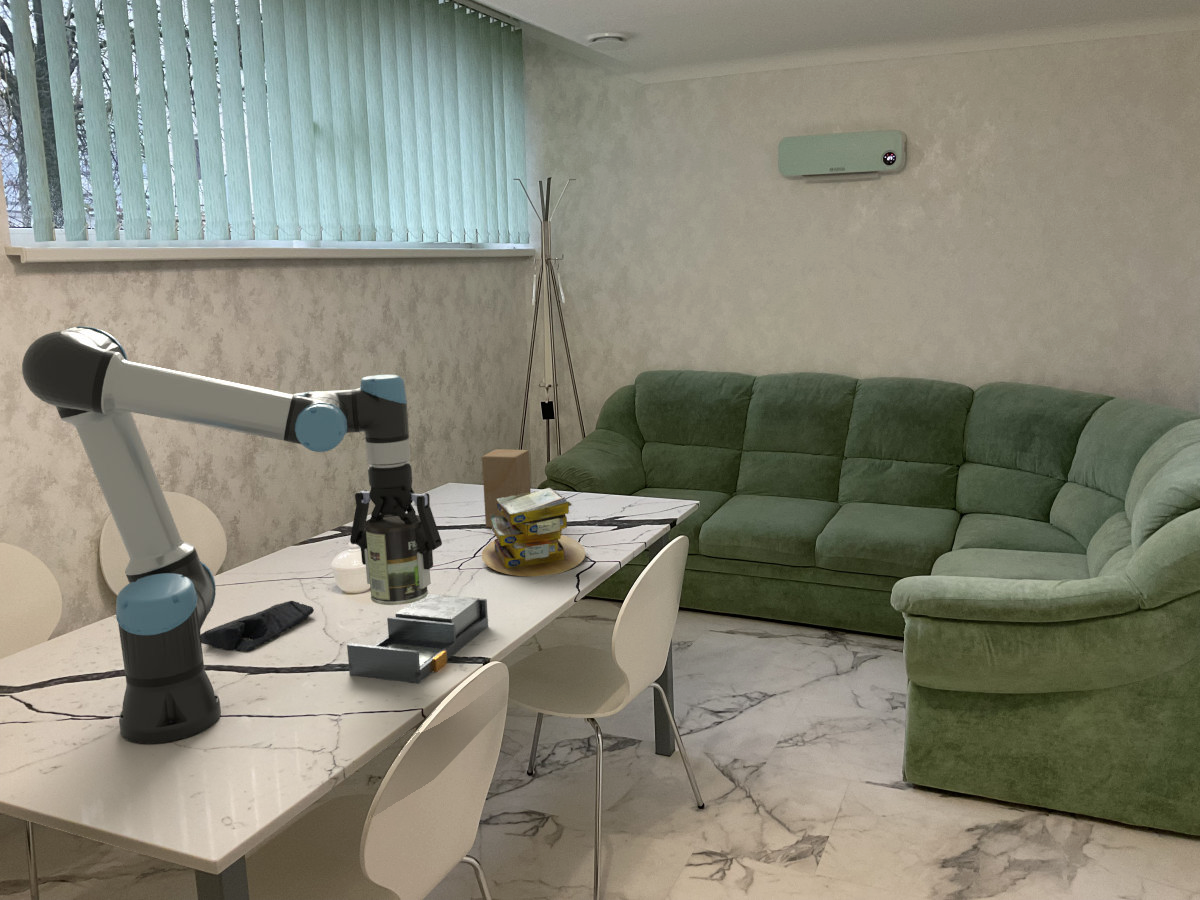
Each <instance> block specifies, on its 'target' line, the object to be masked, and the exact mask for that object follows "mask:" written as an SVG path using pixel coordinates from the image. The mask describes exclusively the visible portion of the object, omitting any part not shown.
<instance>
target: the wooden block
mask: <svg viewBox="0 0 1200 900" xmlns="http://www.w3.org/2000/svg"><path fill="white" fill-rule="evenodd" d="M529 453H530V452H529V450H528V449H508V448H507V449H503V448H502V449H501V448H498V449H497V448H496V449H493V450H492V451H490V452H488V453H485V455H484V454H483V455H482V456H481V462H482V463H481V465H482V481H483V482H482V483H483V496H484V497H483V498H484V500H483V501H484V502H483V503H484V516H485V517H484V520H485V527H486V528H491V529H492V521H491V517H492V516H491V515H495V516H500V517H501V516H504V515H503V514H501V513H500V512H499V511H498V510H497V504H496V500H497V499H498V498H502V497H503V498H506V497H509V496H515V495H516V496H517V495H521V494H522V495H523V494H525V493H527V494H525V495H529V494H528V493H530V494H532V493H531V492H532V491H531V475H530V474H531V471H530V454H529ZM490 514H491V515H490Z"/></svg>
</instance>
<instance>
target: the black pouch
mask: <svg viewBox="0 0 1200 900" xmlns="http://www.w3.org/2000/svg"><path fill="white" fill-rule="evenodd" d="M314 610H315V609H314V608H313V606H311V605H307V604H304V603H301V602H298V601H295V600H289V601H284V602H283V603H282V602H281V603H277V604H274V605H272V606H270V607H269V608H268V607H267V608H266V609H264V610H261V611H258V612H256V613H253V614H250V615H246V616H242V617H240V618H237V619H234V620H231V621H229V622H226V623H223V624H220V625H218V626H215V627H213V628H211V629H207V630H205V631H204V632H203V633H200V636H201V644H204V645H208V646H211V647H212V648H214V649H219V650H223V651H237V652H241V651H245V652H251V651H253V650H255V649H256V648H257V647H259V646H261V645H264V644H266V643H268V642H270V641H271V640H274V639H276V638H277V637H279V636H280V635H281V634H282V633H285V632H287V631H288V630H291V629H293V627H295V626H297V625H299V624H301V623H302V622H303V621H304V620H306V619H307V618H308V617H309V616H310V615H311V616H312V614H313V613H314Z"/></svg>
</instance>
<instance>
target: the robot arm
mask: <svg viewBox="0 0 1200 900" xmlns="http://www.w3.org/2000/svg"><path fill="white" fill-rule="evenodd" d="M21 374H22V377H23V379H24V383H25V385H26V387H27V388H28V389H29V391H30V392H31V393H32V394H33V395H34V396H35V397H36V398H38V399H39V400H40V401H42V402H44V403H46V404H49V405H51V406H54V407H56V410H57V412H58V415H59V418H60V419H61V421H62V422H65V423H67V424H71V425H72V426H73V427H74V428H75V430H76V432H77V434H78V436H79V438H80V441H81V443H82V446H83V448H84V451H85V453H86V455H87V458H88V460H89V462H90V465H91V468H92V470H93V473H94V475H95V478H96V479H97V483H98V485H99V487H100V490H101V491H102V494H103V497H104V498H105V502H106V504H107V507H108V509H109V512H110V513H111V516H112V519H113V521H114V524H115V526H116V528H117V531H118V533H119V536H120V537H121V540H122V543H123V545H124V547H125V550H126V552H127V555H128V557H129V562H128V563H127V566H126V567H125V569H124V574H125V575H126V578H127V580H128V582H129V583H128V584H126V585H125V586H124V587H123V588H122V589H121V590H119V593H118V594H117V597H116V599H115V600H116V608H115V618H116V621H117V623H118V625H117V626H118V631H119V638H120V639H119V641H120V645H121V653H122V661H123V667H124V668H123V669H124V674H125V676H124V677H125V682H126V687H125V691H124V696H123V701H122V706H121V707H122V710H121V711H120V714H119V717H118V719H119V721H118V723H119V730H120V731H119V732H120V735H121V737H122V738H124V739H125V740H126V741H128V742H131V743H136V744H162V743H168V742H173V741H174V742H175V741H177V740H182V739H185V738H189V737H191V736H194V735H196V734H199V733H201V732H203V731H206V730H207V729H208V728H210V727H211V726H213V725H214V724H215V723H216V722H217V721H218V720H219V719H220V717H221V715H222V710H221V701H220V698H219V696H218V694H217V693H216V692H215V690H214V688H213V685H212V683H211V681H210V677H208V674H207V673H206V669H205V664H204V655H203V654H204V653H203V646H202V644H203V643H201V636H200V635H201V629H202V626H203V625H204V622H205V621H206V619H207V616H208V615H209V614H210V612H211V609H212V608H213V606H214V603H215V598H216V593H217V592H216V590H217V589H216V588H217V587H216V582H215V581H216V580H215V577H214V575H213V573H212V571H211V569H210V568H209V567H208V566H207V565H206V564H205V563H204V562H203V561H201V559H200V557H199V554H198V552H197V549H196V548H195V545H194V544H192V543H189V542H187V541H185V540H183V539H182V538H181V535H180V532H179V529H178V527H177V525H176V522H175V520H174V518H173V514H172V513H171V512H172V511H171V510H170V507H169V504H168V502H167V500H166V497H165V494H164V492H163V490H162V487H161V484H160V482H159V480H158V476H157V475H156V472H155V470H154V466H153V464H152V462H151V460H150V457H149V455H148V452H147V449H146V447H145V445H144V442H143V440H142V437H141V434H140V431H139V429H138V427H137V424H136V421H135V419H134V417H133V415H132V413H133V414H134V413H135V414H141V415H146V416H150V417H156V418H161V419H167V420H171V421H178V422H182V423H183V422H184V423H187V424H193V425H198V426H203V427H209V428H214V429H219V430H220V429H221V430H226V431H229V432H230V431H232V432H234V433H235V432H236V433H242V434H247V435H252V436H259V437H263V438H268V439H274V440H279V441H283V442H288V443H293V444H297V445H302V446H303V447H304V448H306V449H308V450H309V451H312V452H315V453H325V452H328V451H329V452H330V451H331V450H333V449H335V448H336V447H337V446H338V445H339V444H340V443H341V442H342V441H343V440H344V438H345V436H346V435H347V434H350V433H362V432H364V435H365V436H364V438H365V451H366V462H367V463H368V464H369V465H368V467H367V474H368V484H369V486H370V490H369V491H368V490H366V489H363V490H361V491H358V492H356V493H355V494H354V499H355V500H354V501H355V510H354V516H353V522H352V528H351V534H350V539H349V540H350V544H351V545H356V546H358V547H359V548H360V553H361V555H360V556H361V562H362V565H365V570H366V571H365V573H366V584H367V585H370V576H369V565H368V553H367V541H366V529H365V527H364V523H365V522H366V521H367V520H368V513H369V507H370V502H372V503H373V504H374V506H373V510H372V512H371V513H370V522H377V521H379V520H381V519H383V517H384V516H385V515H393V516H399V517H400V519H401V520H402V521H404V523H405V524H413V523H415V522H417V521H418V518H417V516H416V515H419V517H420V520H421V523H422V526H423V527H422V526H421V527H420V528H419V529H415V537H416V543H417V545H418V547H419V548H420V550H421V551H420V552H418V553H417V560H418V574H419V587H420V588H422V589H423V588H425V587H427V588H428V586H430V585H431V584H432V582H431V569H432V568H433V566H434V557H433V555H434V553H433V551H435V550H436V549H438V548H440V547H442V545H443V541H442V539H441V535H440V532H439V530H438V527H437V523H436V520H435V518H434V515H433V510H432V508H431V505H430V504H431V503H430V500H431V499H430V494H429V493H428V492H424V493H422V494H421V493H415V491H414V490H413V472H412V471H413V470H412V464H411V463H410V460H411V458H412V457H411V449H410V447H411V446H410V444H411V443H410V434H409V432H410V431H409V419H408V418H409V417H408V401H407V394H406V386H405V381H404V379H403V378H402V377H401V376H400V375H397V374H376V375H367V376H365V377H364V376H363V377H362V378H361V380H360V385H359V388H355V389H354V388H353V389H343V390H342V389H340V390H323V391H322V390H321V391H313V390H311V391H310V390H309V391H306V392H299V393H298V392H297V393H294V394H293V393H292V394H291V393H286V392H283V391H282V392H281V391H276V390H271V389H266V388H262V387H257V386H252V385H247V384H241V383H238V382H231V381H227V380H223V379H219V378H218V379H216V378H212V377H208V376H207V377H206V376H204V375H203V376H202V375H198V374H193V373H188V372H182V371H179V370H172V369H169V368H162V367H157V366H154V365H148V364H143V363H139V362H134V361H129V360H128V356H127V354H126V351H125V349H124V347H123V345H122V344H121V343H120V342H119V340H118V339H117V338H116V337H114V336H113V335H112V334H110V333H109V332H107V331H105V330H103V329H101V328H100V329H99V328H95V327H91V326H80V325H77V326H73V327H68V328H66V329H62V330H59V331H53V332H51V333H47V334H44V335H42V336H40V337H39V338H36V340H34V341H33V343H31V344H30V345H29V346H28V348H27V349H26V351H25V353H24V355H23V358H22V363H21ZM413 502H414V506H415V507H416V509H417V510H415V508H414V507H413V505H412V503H413ZM416 511H417V513H416Z"/></svg>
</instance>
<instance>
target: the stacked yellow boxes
mask: <svg viewBox="0 0 1200 900" xmlns="http://www.w3.org/2000/svg"><path fill="white" fill-rule="evenodd" d="M525 494H527V493H525ZM525 494H523V495H522V494H521V495H517V496H516V495H515V496H509V497H506V498H503V497H502V498H498V499H497V500H496V504H497V510H498V511H499V512H500V513H501V514H503V515H504V516H501V517H500V516H495V515H491V514H490V515H491V516H492V517H491V521H492V528H491V530H492V531H493V533H494V535H495V537H496V538H495V539H494V540H492V541H491V542H489V543H488V544H487V545H486V546H484V548H483V549H482V551H481V559H482V561H483V563H484V564H485V565H486V566H487V567H489V568H490V569H493V570H494V571H496V572H498V573H499V572H500V573H501V574H506V575H511V576H515V577H516V576H517V577H518V576H519V577H531V578H532V577H539V576H547V575H548V576H549V575H556V574H557V575H558V574H560V573H564V572H567V571H569V570H571V569H573V568H575V567H577V566H579V564H581V563H582V562H583V560H584V559H585V557H586V550H585V547H584V546H583V545H582V544H581V543H580V542H579V541H577V539H574V538H572V537H570V536H567V535H564V534H562V530H563V529H567V528H568V525H567V523H568V516H566V515H568V514H569V512H570V506H571V507H572V506H573V504H572V503H571V502H570V501H568V500H567V498H566V496H562V495H561V494H560V493H558V492H557V491H555V490H554V489H552V488H551V487H548V488H544V489H540V490H537V491H531V494H530V493H528V494H529V495H525Z"/></svg>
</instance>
